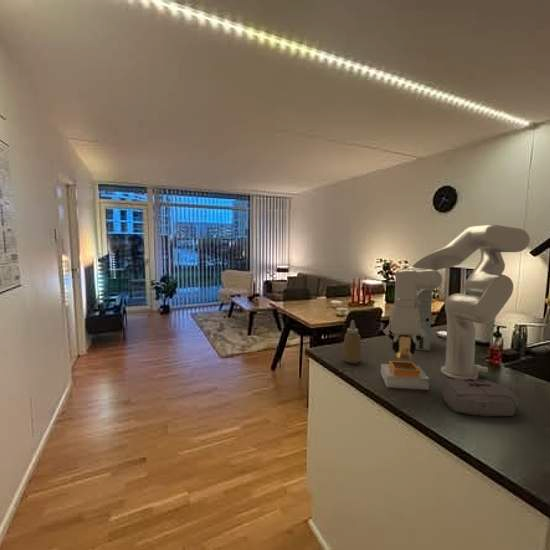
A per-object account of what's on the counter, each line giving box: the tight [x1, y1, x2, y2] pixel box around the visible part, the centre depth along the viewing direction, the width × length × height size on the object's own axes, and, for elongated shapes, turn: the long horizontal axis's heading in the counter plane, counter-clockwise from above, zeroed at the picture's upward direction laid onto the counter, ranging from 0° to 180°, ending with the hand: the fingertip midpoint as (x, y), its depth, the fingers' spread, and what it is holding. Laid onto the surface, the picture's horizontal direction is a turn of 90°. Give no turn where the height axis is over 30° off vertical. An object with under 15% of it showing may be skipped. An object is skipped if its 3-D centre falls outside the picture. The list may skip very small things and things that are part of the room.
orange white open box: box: [380, 360, 430, 391], centre depth 114 cm, size 14×12×6 cm
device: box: [415, 289, 433, 352], centre depth 155 cm, size 16×8×30 cm, turn 164°
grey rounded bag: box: [440, 378, 520, 417], centre depth 96 cm, size 15×8×20 cm
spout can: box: [395, 335, 412, 360], centre depth 114 cm, size 6×5×9 cm
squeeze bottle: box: [342, 320, 363, 364], centre depth 134 cm, size 8×8×18 cm
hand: (403, 351), depth 113 cm, fingers closed on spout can, 5 cm apart
